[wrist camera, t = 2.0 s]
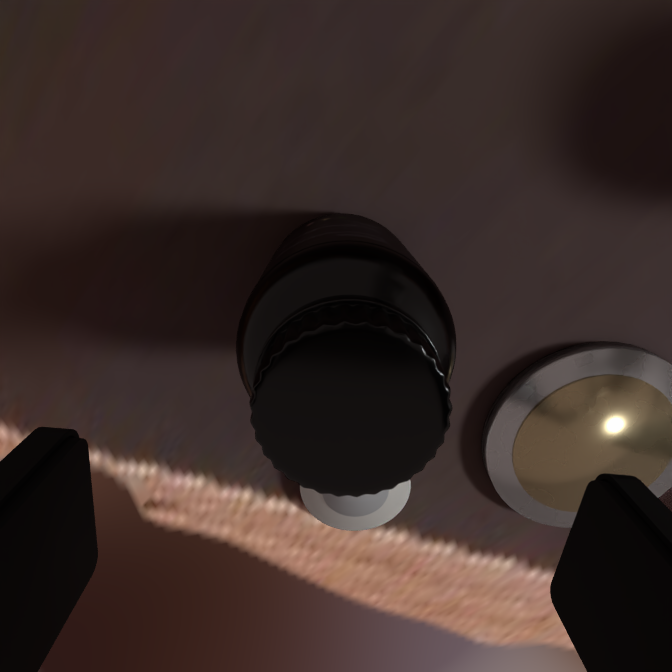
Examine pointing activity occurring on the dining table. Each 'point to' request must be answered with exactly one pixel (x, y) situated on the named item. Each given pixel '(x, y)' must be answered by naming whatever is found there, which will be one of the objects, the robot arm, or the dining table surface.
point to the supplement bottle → (347, 358)
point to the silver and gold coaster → (579, 428)
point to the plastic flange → (356, 507)
